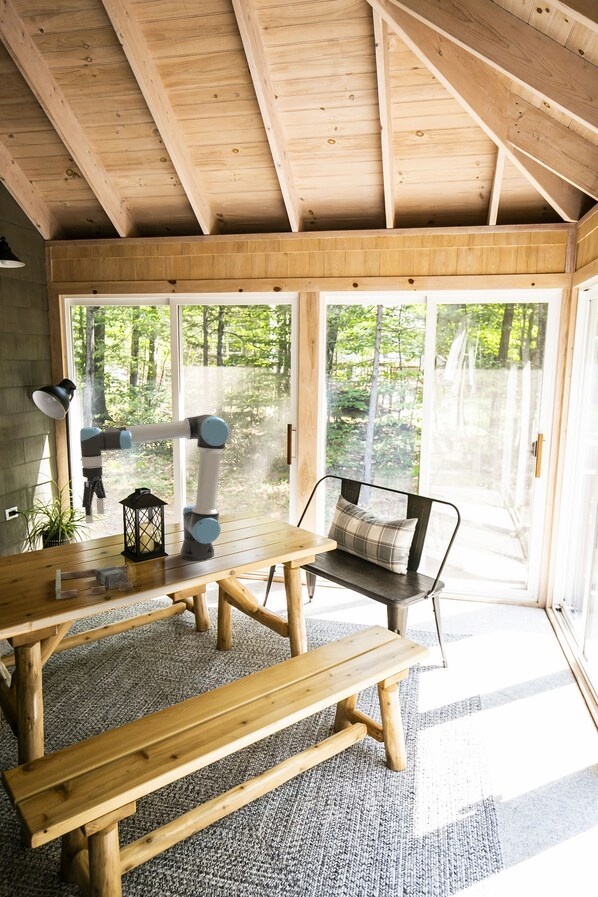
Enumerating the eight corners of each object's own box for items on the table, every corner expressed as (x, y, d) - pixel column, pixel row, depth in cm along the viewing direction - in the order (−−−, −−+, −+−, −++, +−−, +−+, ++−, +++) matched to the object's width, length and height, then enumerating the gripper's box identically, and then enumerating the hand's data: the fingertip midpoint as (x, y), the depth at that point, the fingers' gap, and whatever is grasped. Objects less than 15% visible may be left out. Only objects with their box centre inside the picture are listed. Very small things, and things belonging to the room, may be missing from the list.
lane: (126, 570, 259) (126, 561, 258) (132, 589, 238) (132, 579, 237) (56, 579, 249) (56, 569, 249) (56, 599, 228) (55, 589, 227)
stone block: (117, 575, 254) (116, 563, 253) (131, 585, 243) (130, 572, 242) (95, 580, 249) (95, 567, 248) (109, 590, 237) (108, 577, 237)
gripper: (93, 461, 255) (96, 510, 258) (71, 472, 231) (74, 527, 234) (111, 460, 255) (114, 510, 258) (90, 472, 230) (94, 526, 234)
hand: (95, 518), depth 246 cm, fingers open, 13 cm apart
